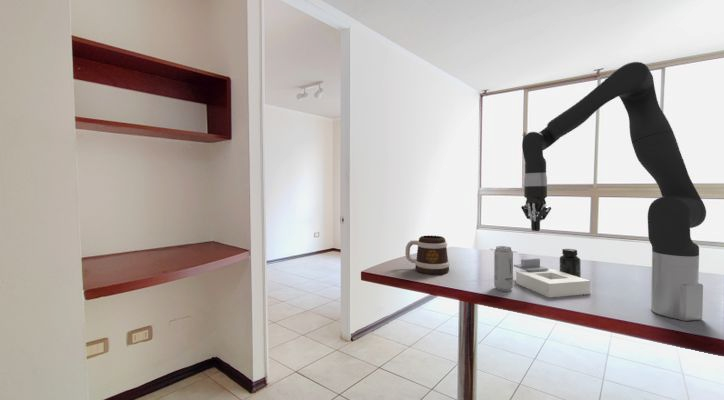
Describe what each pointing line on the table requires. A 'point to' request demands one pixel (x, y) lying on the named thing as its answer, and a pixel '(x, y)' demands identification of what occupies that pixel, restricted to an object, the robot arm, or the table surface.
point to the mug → (430, 255)
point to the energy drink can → (503, 268)
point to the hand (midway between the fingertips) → (535, 230)
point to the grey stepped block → (531, 265)
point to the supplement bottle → (570, 262)
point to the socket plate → (553, 283)
